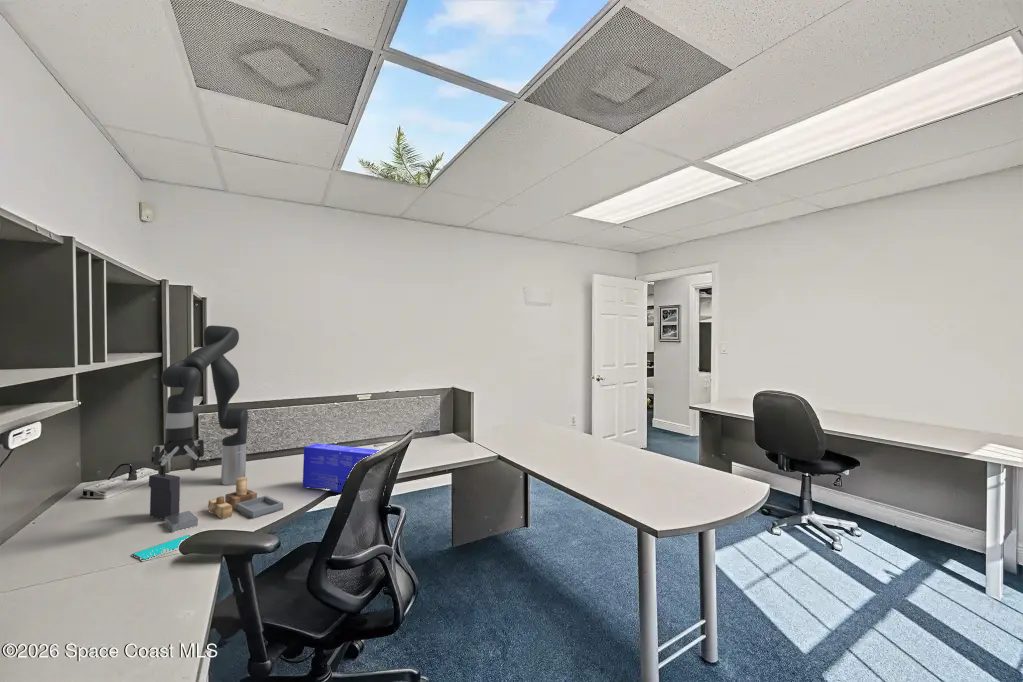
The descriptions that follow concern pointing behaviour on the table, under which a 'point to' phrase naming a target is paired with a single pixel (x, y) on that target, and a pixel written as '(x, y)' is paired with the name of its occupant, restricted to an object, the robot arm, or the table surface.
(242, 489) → the dowel
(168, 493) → the tall lidded box
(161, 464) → the robot arm
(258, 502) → the tray
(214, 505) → the stop block
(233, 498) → the socket block
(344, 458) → the toner cartridge box
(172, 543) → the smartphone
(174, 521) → the grey rectangular block
